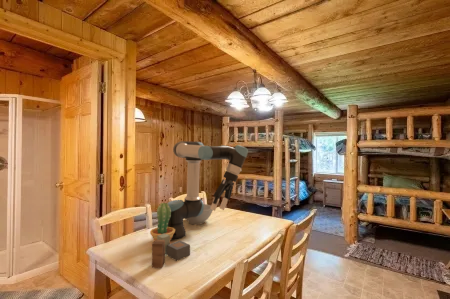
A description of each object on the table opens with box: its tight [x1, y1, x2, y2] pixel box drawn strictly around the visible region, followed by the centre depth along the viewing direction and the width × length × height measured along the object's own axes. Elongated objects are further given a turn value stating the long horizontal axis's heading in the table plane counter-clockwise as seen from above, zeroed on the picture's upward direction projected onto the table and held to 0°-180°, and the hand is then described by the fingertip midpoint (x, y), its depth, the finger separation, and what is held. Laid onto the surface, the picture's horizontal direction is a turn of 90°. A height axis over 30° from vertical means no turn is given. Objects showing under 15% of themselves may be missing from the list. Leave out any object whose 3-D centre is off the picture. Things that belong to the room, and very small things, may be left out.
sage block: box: [157, 233, 171, 255], centre depth 133 cm, size 5×5×10 cm
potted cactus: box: [149, 202, 175, 242], centre depth 146 cm, size 15×15×25 cm
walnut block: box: [151, 240, 166, 269], centre depth 118 cm, size 5×5×12 cm
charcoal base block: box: [166, 240, 191, 261], centre depth 130 cm, size 9×9×6 cm
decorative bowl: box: [184, 203, 214, 226], centre depth 190 cm, size 27×27×12 cm
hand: (217, 209), depth 126 cm, fingers open, 13 cm apart
